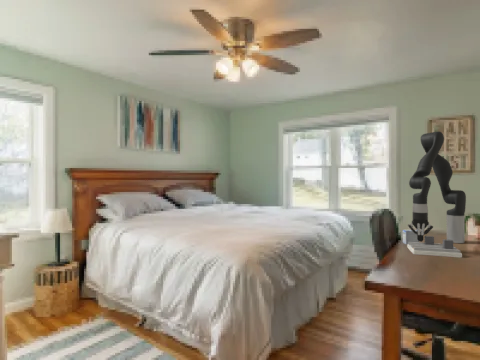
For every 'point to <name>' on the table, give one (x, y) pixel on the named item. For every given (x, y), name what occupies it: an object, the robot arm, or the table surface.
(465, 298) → the table surface
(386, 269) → the table surface
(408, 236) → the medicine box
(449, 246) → the grey slider block
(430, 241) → the inner tab
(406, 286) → the table surface
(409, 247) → the switch board
